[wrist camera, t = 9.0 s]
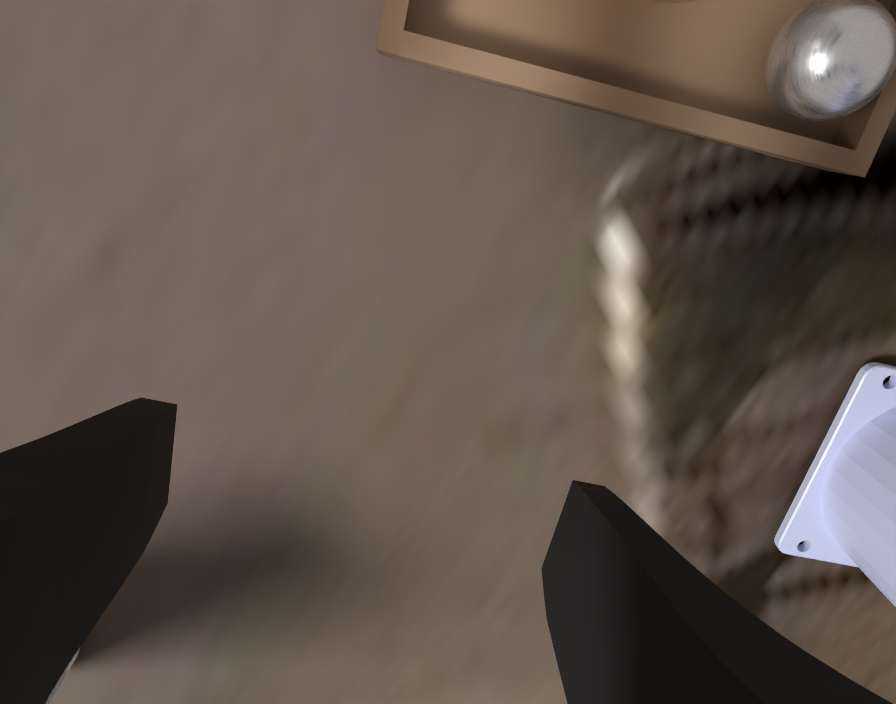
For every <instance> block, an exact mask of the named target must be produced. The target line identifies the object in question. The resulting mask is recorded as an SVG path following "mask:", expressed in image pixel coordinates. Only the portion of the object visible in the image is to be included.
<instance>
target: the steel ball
mask: <svg viewBox="0 0 896 704" xmlns="http://www.w3.org/2000/svg"><path fill="white" fill-rule="evenodd" d="M895 67H896V22H895V20H894V18H893V16H892V15H891V14H890V12H889V11H888V10H887V9H886V8H885V7H884V6H883V5H882V4H881V3H879V2H877V1H876V0H815V1H813V2H811V3H809V4H807V5H806V6H804V7H803V8H801V9H800V10H798V11H797V12H796V13H794V14H793V15H792V16H791V17H790V18H789V19H788V20H787V21H786V22H785V23H784V25H783V26H782V27H781V28H780V30H779V31H778V32H777V34H776V36H775V38H774V39H773V41H772V44H771V46H770V48H769V52H768V55H767V60H766V69H765V71H766V81H767V85H768V89H769V91H770V93H771V95H772V97H773V98H774V100H775V101H776V102H777V103H778V105H779V106H780V107H781V108H782V109H784V110H785V111H786V112H788V113H790V114H792V115H794V116H796V117H799V118H802V119H807V120H813V121H823V120H832V119H836V118H840V117H843V116H846V115H848V114H851V113H853V112H855V111H857V110H858V109H860V108H862V107H863V106H865V105H866V104H868V103H869V102H870V101H871V100H872V99H873V98H875V97H876V96H877V95H878V93H879V92H880V91H881V90H882V89H883V88H884V87H885V85H886V84H887V82H888V81H889V79H890V78H891V76H892V74H893V72H894V69H895Z"/></svg>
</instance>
